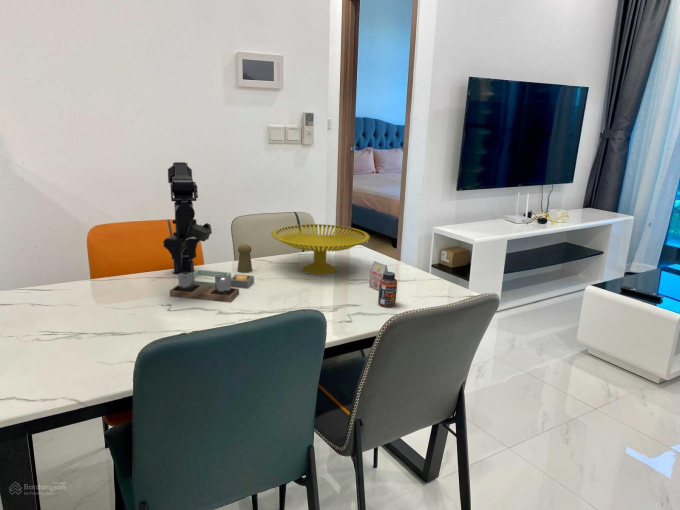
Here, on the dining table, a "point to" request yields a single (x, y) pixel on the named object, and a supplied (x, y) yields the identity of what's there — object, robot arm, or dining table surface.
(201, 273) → the sage tote
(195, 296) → the walnut pallet
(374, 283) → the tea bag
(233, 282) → the button housing
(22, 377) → the dining table surface
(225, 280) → the seated steel billet
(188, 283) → the cylinder
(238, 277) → the button
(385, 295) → the supplement bottle
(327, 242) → the yellow pedestal fruit bowl
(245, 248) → the cork
